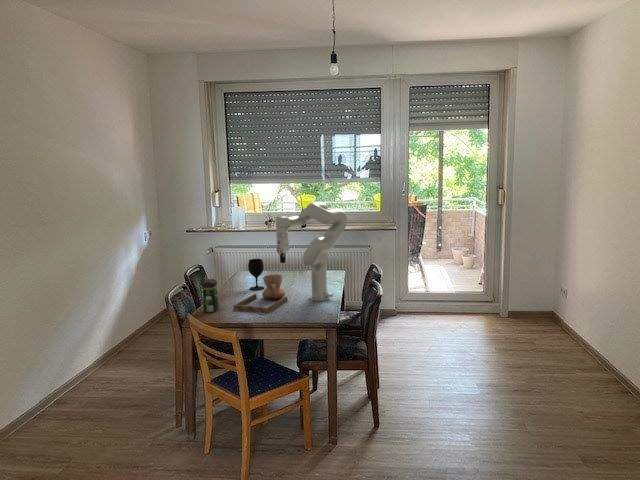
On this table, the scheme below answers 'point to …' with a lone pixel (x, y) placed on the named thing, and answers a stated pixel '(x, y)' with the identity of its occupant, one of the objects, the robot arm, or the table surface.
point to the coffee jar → (210, 295)
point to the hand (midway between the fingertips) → (282, 262)
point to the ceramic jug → (273, 287)
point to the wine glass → (256, 271)
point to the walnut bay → (243, 307)
